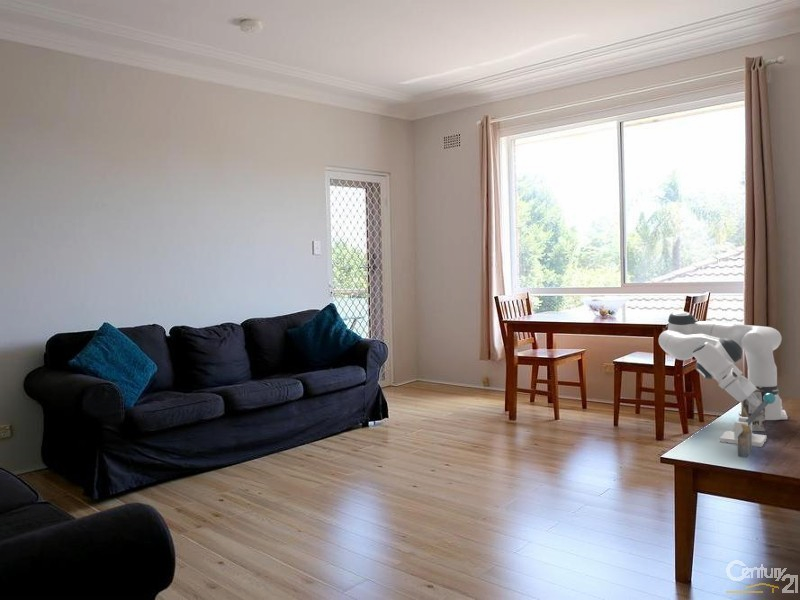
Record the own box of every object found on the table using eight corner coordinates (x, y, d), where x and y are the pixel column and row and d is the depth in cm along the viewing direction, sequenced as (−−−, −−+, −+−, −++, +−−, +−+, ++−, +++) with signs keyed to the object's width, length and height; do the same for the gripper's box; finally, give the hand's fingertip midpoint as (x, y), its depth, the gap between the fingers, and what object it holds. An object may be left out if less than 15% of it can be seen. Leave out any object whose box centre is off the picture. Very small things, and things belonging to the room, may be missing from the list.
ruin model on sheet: (742, 449, 237) (742, 423, 236) (751, 450, 235) (751, 424, 234) (736, 457, 228) (736, 430, 227) (746, 458, 226) (746, 431, 225)
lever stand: (726, 434, 255) (726, 414, 255) (766, 439, 247) (766, 418, 246) (719, 441, 246) (719, 421, 245) (761, 446, 237) (761, 425, 237)
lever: (737, 425, 250) (769, 389, 242) (746, 432, 248) (779, 396, 240) (734, 428, 245) (766, 392, 238) (744, 435, 243) (776, 399, 236)
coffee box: (765, 431, 258) (765, 391, 257) (748, 431, 259) (747, 391, 258) (757, 425, 267) (757, 387, 266) (741, 425, 268) (740, 387, 267)
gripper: (729, 378, 257) (757, 405, 252) (717, 386, 241) (747, 415, 236) (742, 368, 254) (770, 395, 249) (731, 375, 238) (760, 404, 233)
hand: (759, 405), depth 242 cm, fingers closed, pressing on lever
